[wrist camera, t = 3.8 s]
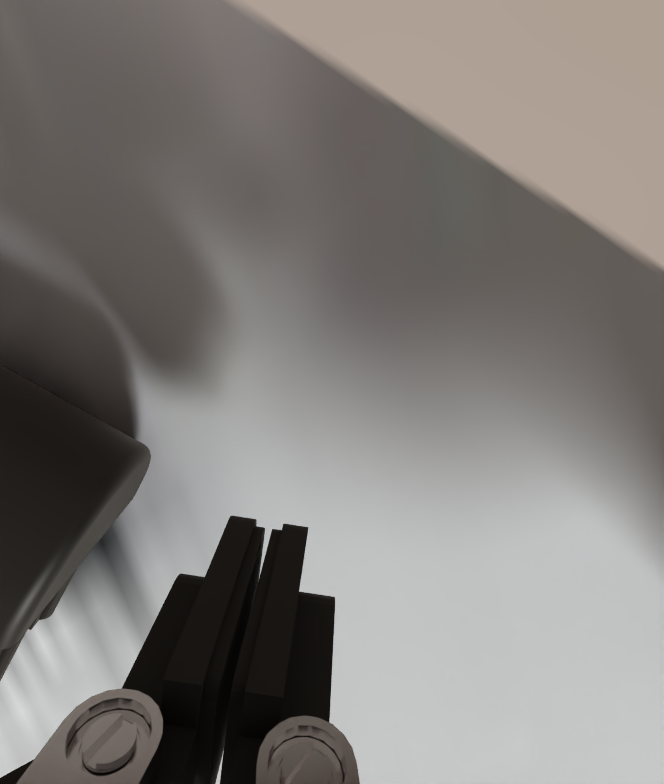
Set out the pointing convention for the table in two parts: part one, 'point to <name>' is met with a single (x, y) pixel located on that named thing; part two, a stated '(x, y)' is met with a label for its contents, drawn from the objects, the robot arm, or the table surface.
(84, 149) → the table surface
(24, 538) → the end cap
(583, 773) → the table surface
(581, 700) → the table surface
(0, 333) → the table surface
